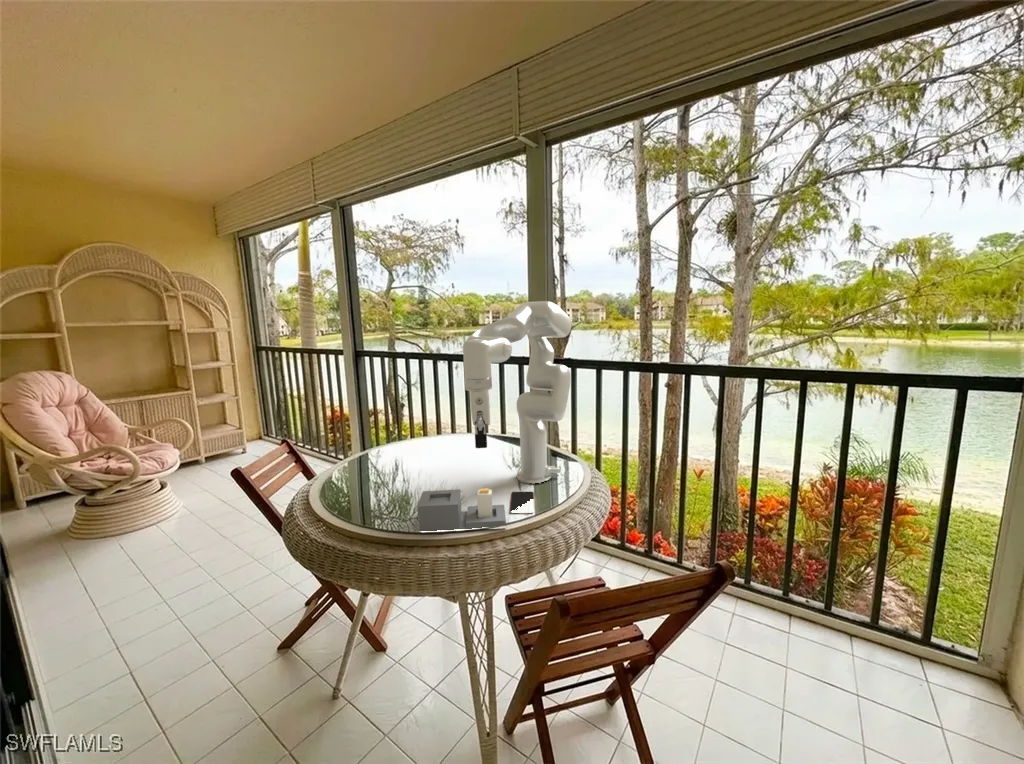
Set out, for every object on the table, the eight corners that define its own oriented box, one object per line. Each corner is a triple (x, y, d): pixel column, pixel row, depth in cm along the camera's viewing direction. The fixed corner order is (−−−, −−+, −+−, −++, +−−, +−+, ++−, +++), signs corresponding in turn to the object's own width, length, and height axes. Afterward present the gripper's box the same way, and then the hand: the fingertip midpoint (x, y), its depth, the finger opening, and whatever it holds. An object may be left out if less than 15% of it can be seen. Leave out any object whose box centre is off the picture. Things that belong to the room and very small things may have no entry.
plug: (492, 515, 124) (491, 487, 122) (492, 520, 121) (491, 491, 119) (478, 515, 124) (477, 487, 122) (478, 521, 121) (477, 492, 119)
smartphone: (533, 491, 141) (534, 512, 126) (533, 493, 141) (534, 514, 126) (511, 491, 141) (509, 512, 127) (511, 494, 142) (509, 515, 127)
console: (504, 512, 128) (503, 487, 126) (506, 528, 118) (505, 502, 117) (424, 516, 126) (422, 491, 125) (419, 533, 116) (417, 506, 115)
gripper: (492, 388, 110) (495, 451, 113) (490, 377, 127) (493, 432, 130) (464, 390, 109) (467, 453, 112) (465, 379, 126) (468, 434, 129)
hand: (481, 442), depth 121 cm, fingers open, 9 cm apart
